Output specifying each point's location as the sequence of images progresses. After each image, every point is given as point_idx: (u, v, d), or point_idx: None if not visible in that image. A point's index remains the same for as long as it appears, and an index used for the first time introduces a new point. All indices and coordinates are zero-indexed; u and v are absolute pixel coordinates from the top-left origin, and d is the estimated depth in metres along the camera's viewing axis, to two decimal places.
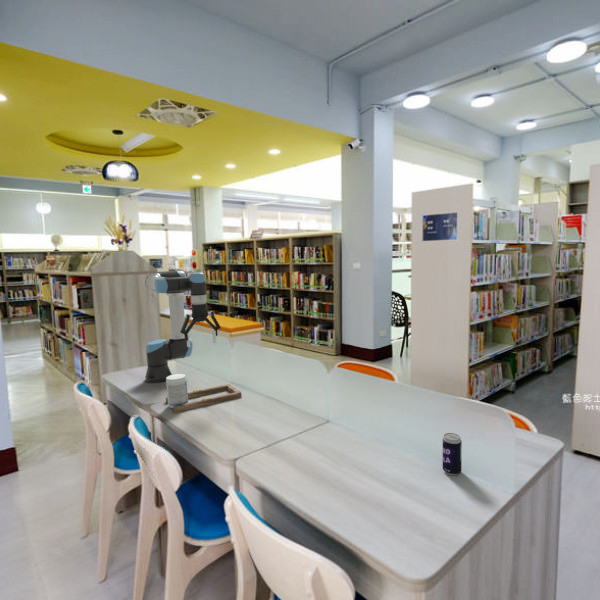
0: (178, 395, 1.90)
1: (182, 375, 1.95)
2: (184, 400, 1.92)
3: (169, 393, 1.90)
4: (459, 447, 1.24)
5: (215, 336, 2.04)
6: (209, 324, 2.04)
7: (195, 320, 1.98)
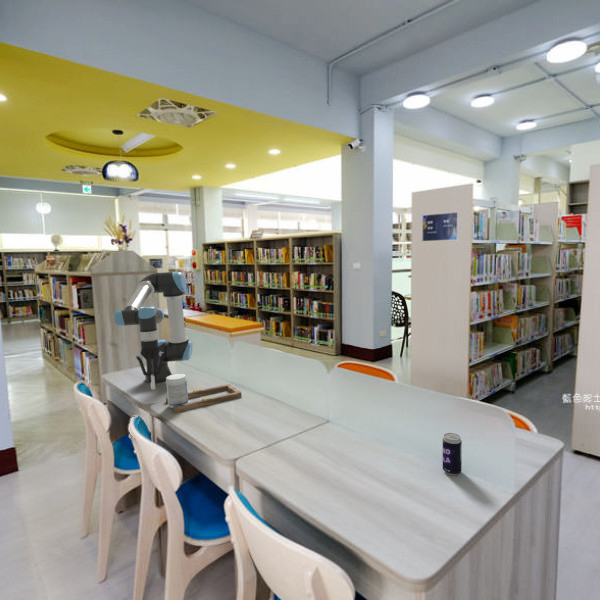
0: (178, 395, 1.90)
1: (182, 375, 1.95)
2: (184, 400, 1.92)
3: (169, 393, 1.90)
4: (459, 447, 1.24)
5: (154, 382, 1.87)
6: (152, 365, 1.87)
7: (148, 359, 1.84)
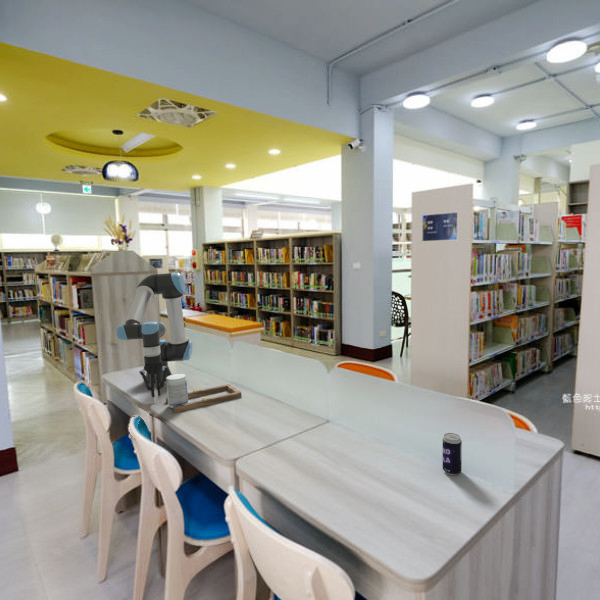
0: (178, 395, 1.90)
1: (182, 375, 1.95)
2: (184, 400, 1.92)
3: (169, 393, 1.90)
4: (459, 447, 1.24)
5: (157, 396, 1.88)
6: (155, 379, 1.89)
7: (151, 374, 1.86)
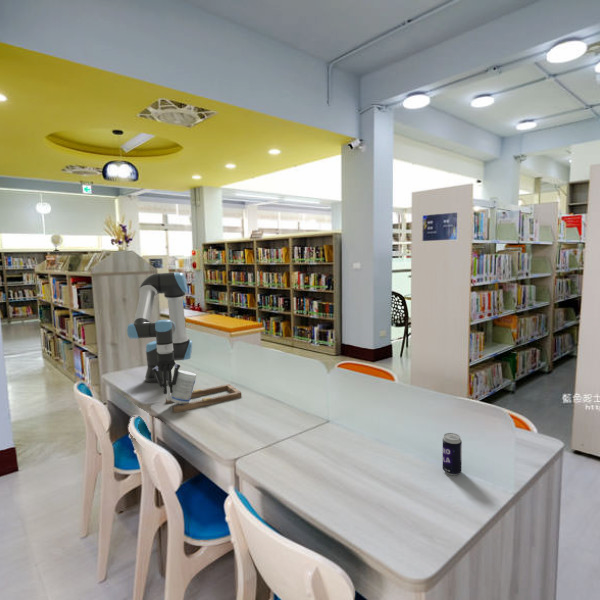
0: (183, 391, 1.91)
1: (193, 373, 1.98)
2: (187, 398, 1.93)
3: (176, 386, 1.92)
4: (459, 447, 1.24)
5: (169, 393, 1.91)
6: (168, 377, 1.92)
7: (164, 371, 1.89)
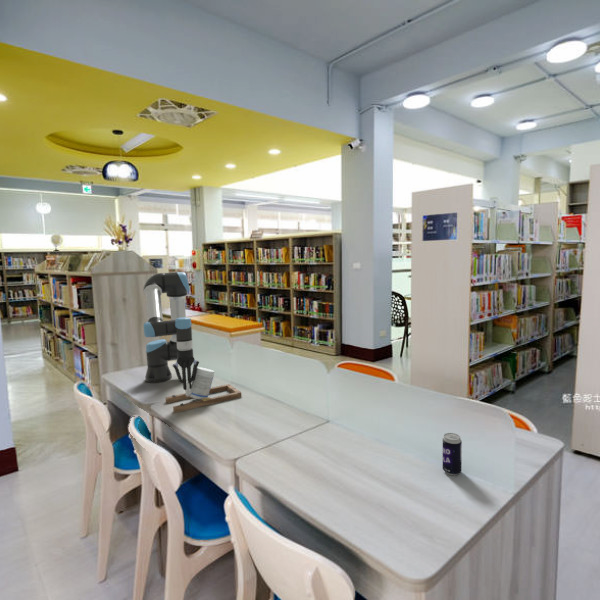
0: (202, 387, 1.96)
1: (211, 370, 2.03)
2: (206, 393, 1.98)
3: (195, 382, 1.97)
4: (459, 447, 1.24)
5: (189, 389, 1.96)
6: (187, 373, 1.96)
7: (184, 367, 1.93)
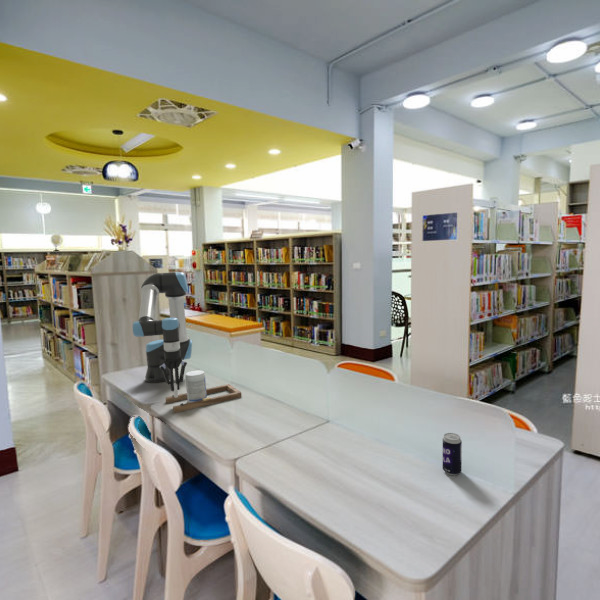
0: (197, 391, 1.95)
1: (201, 371, 2.00)
2: (203, 396, 1.97)
3: (189, 389, 1.95)
4: (459, 447, 1.24)
5: (177, 390, 1.93)
6: (175, 374, 1.94)
7: (171, 369, 1.90)
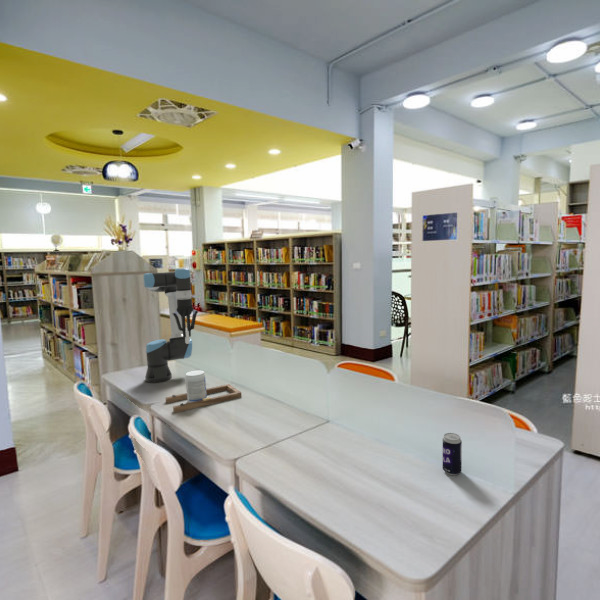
0: (197, 391, 1.95)
1: (201, 371, 2.00)
2: (203, 396, 1.97)
3: (189, 389, 1.95)
4: (459, 447, 1.24)
5: (188, 336, 2.06)
6: (187, 321, 2.06)
7: (183, 316, 2.03)
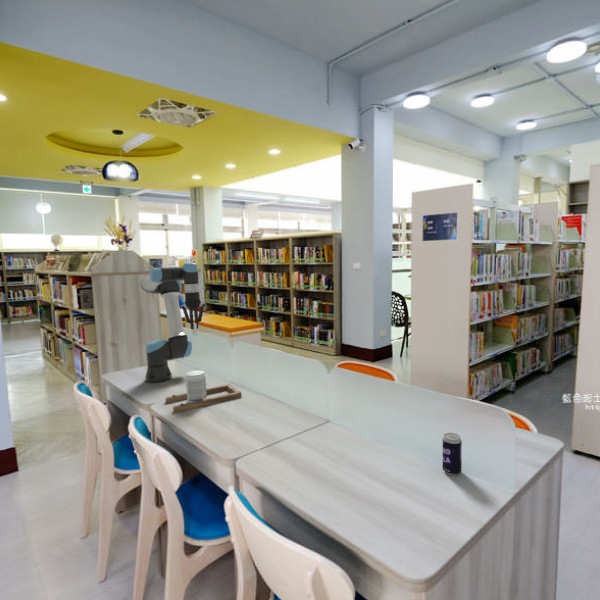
0: (197, 391, 1.95)
1: (201, 371, 2.00)
2: (203, 396, 1.97)
3: (189, 389, 1.95)
4: (459, 447, 1.24)
5: (196, 328, 2.14)
6: (194, 314, 2.15)
7: (191, 308, 2.11)
